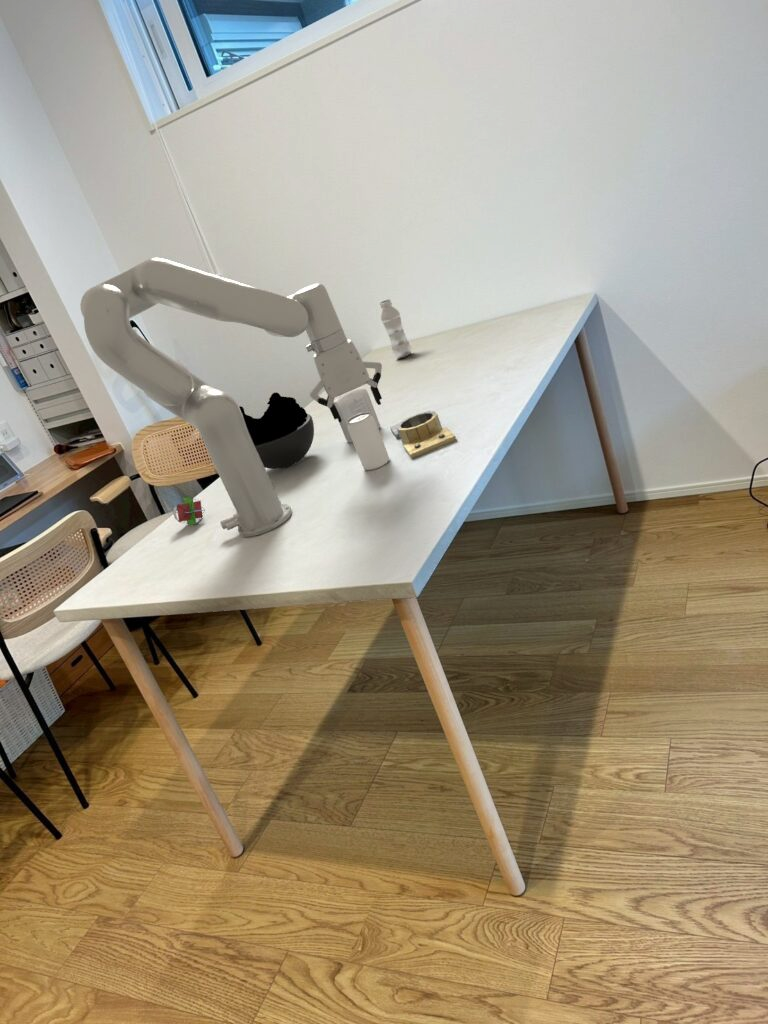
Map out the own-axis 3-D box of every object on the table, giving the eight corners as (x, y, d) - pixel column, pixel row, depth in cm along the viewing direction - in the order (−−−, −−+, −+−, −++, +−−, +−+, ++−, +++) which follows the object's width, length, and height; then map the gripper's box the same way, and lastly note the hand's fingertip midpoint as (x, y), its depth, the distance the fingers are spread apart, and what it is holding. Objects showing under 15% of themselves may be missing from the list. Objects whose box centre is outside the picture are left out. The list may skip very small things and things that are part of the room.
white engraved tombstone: (375, 425, 211) (358, 382, 207) (383, 426, 208) (367, 383, 203) (344, 442, 207) (327, 399, 203) (352, 443, 204) (334, 400, 199)
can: (359, 472, 182) (340, 425, 177) (371, 459, 187) (353, 414, 182) (382, 469, 178) (363, 421, 174) (394, 456, 183) (376, 409, 179)
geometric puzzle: (200, 503, 197) (173, 491, 192) (215, 503, 192) (189, 491, 187) (190, 530, 195) (163, 518, 190) (206, 531, 190) (179, 519, 185)
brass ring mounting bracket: (411, 459, 177) (405, 443, 176) (391, 431, 201) (386, 417, 200) (456, 440, 177) (451, 424, 176) (431, 414, 201) (426, 400, 200)
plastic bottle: (392, 360, 274) (372, 305, 267) (408, 352, 276) (389, 297, 268) (400, 361, 268) (379, 305, 261) (416, 353, 270) (397, 297, 263)
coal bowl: (340, 444, 207) (313, 378, 200) (293, 480, 194) (263, 411, 187) (287, 450, 220) (260, 388, 213) (240, 485, 206) (209, 420, 199)
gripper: (294, 360, 168) (326, 431, 174) (368, 328, 168) (397, 400, 174) (292, 355, 174) (322, 423, 181) (363, 323, 175) (391, 393, 181)
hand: (359, 412), depth 178 cm, fingers open, 9 cm apart
